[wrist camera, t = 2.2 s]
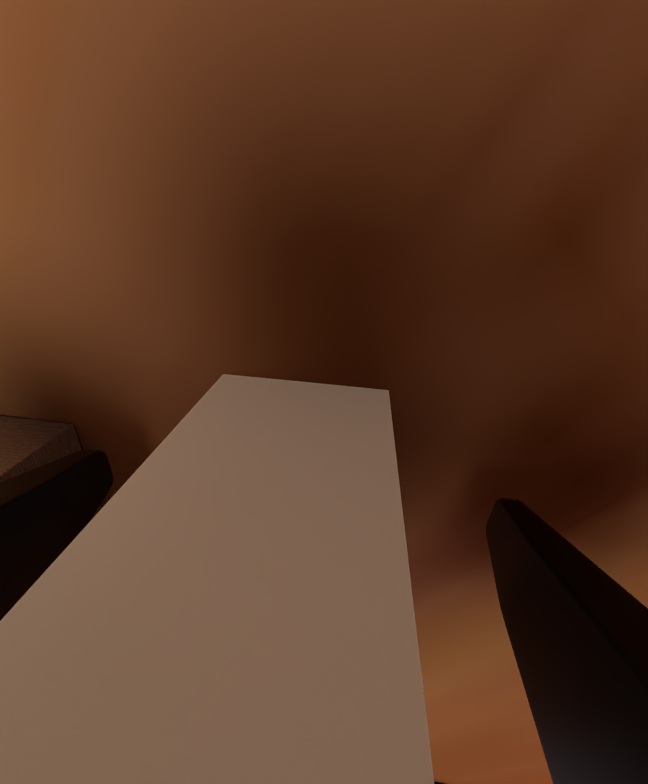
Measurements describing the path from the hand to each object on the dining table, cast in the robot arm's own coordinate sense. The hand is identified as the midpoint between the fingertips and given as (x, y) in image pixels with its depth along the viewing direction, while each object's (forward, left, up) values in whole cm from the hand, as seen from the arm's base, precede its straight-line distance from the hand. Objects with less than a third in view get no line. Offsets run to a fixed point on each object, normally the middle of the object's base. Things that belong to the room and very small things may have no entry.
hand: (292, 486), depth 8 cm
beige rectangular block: (0, 0, -1) cm, 1 cm away
